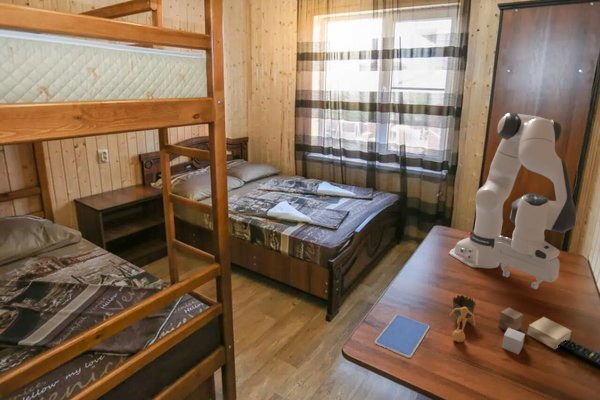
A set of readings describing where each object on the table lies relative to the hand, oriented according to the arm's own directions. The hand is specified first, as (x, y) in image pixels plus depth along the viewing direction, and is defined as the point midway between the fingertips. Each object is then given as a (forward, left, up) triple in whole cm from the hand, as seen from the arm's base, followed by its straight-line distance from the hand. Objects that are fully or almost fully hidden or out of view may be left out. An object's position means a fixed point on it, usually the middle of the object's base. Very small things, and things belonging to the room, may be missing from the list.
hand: (519, 281), depth 129 cm
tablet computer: (-18, -34, -19) cm, 43 cm away
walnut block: (0, 0, -18) cm, 18 cm away
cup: (-12, -10, -19) cm, 25 cm away
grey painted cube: (+6, -9, -19) cm, 21 cm away
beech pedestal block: (+10, +6, -19) cm, 22 cm away
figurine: (-6, -20, -19) cm, 28 cm away
